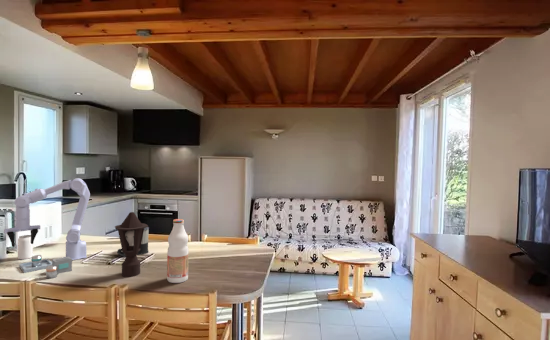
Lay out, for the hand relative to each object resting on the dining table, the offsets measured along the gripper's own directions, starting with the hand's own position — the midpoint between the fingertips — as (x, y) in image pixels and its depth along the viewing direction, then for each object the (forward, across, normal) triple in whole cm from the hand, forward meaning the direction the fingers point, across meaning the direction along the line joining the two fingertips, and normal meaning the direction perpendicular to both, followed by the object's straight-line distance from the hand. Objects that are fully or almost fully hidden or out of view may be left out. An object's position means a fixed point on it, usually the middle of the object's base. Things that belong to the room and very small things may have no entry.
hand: (22, 245), depth 162 cm
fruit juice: (+10, -45, +74) cm, 87 cm away
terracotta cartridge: (+10, -6, +31) cm, 33 cm away
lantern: (+10, -33, +52) cm, 62 cm away
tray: (+10, -4, +10) cm, 15 cm away
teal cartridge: (+9, -4, +10) cm, 14 cm away
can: (+10, -3, -11) cm, 15 cm away
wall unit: (+10, -11, +26) cm, 29 cm away
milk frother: (+10, -48, +21) cm, 53 cm away
